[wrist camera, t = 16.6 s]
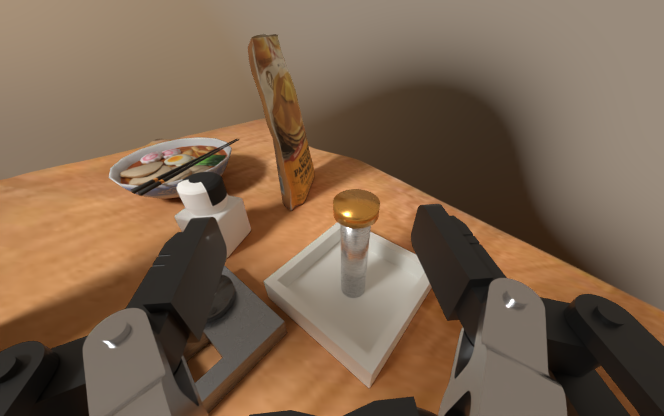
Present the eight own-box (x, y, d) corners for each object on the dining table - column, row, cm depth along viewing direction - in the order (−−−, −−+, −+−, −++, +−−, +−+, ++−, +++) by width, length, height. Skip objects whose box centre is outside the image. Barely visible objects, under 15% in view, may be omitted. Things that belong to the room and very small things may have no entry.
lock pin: (328, 289, 33) (323, 204, 24) (349, 268, 36) (351, 184, 27) (356, 309, 30) (362, 223, 22) (377, 285, 33) (388, 199, 25)
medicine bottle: (219, 222, 46) (196, 164, 39) (252, 230, 44) (234, 170, 37) (190, 250, 40) (157, 187, 33) (227, 259, 39) (200, 196, 31)
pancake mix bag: (267, 214, 48) (225, 37, 31) (293, 167, 63) (274, 31, 46) (301, 216, 47) (278, 35, 30) (319, 168, 62) (310, 30, 45)
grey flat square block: (125, 347, 28) (105, 329, 26) (228, 275, 36) (219, 256, 34) (173, 448, 21) (151, 436, 19) (287, 332, 29) (282, 313, 27)
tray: (268, 297, 33) (263, 281, 31) (343, 233, 43) (343, 217, 41) (369, 388, 25) (371, 374, 22) (434, 283, 34) (440, 266, 32)
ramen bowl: (195, 157, 69) (184, 127, 64) (262, 171, 61) (255, 139, 57) (97, 206, 51) (71, 171, 46) (175, 235, 43) (153, 197, 38)
